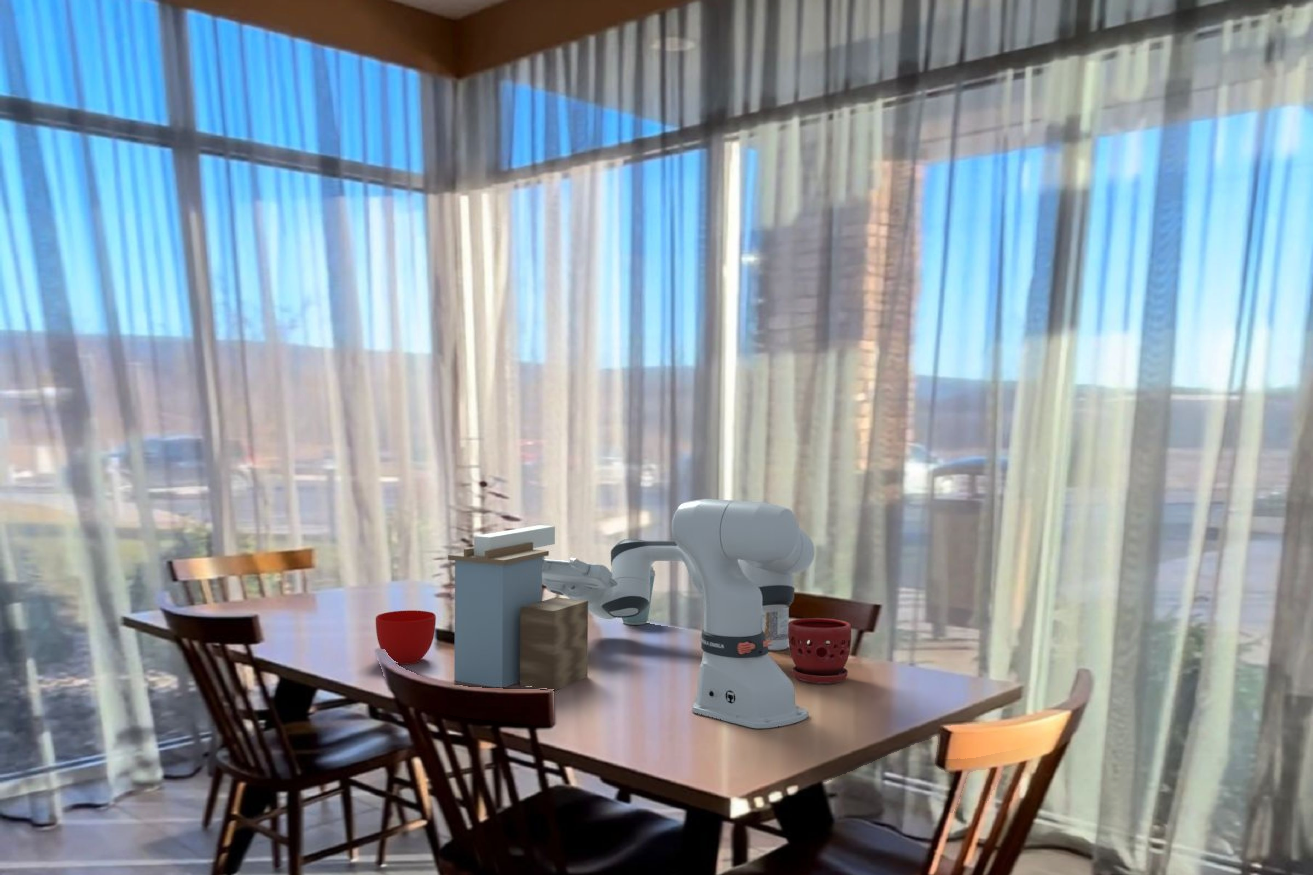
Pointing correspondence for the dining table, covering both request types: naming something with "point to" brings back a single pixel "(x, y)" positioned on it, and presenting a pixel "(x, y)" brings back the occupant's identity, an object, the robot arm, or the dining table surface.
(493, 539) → the white beam
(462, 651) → the cabinet
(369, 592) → the dining table surface
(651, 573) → the disposable coffee cup
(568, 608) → the walnut block
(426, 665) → the dining table surface
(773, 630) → the bath foam
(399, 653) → the ceramic cup
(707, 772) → the dining table surface
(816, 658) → the plant pot
